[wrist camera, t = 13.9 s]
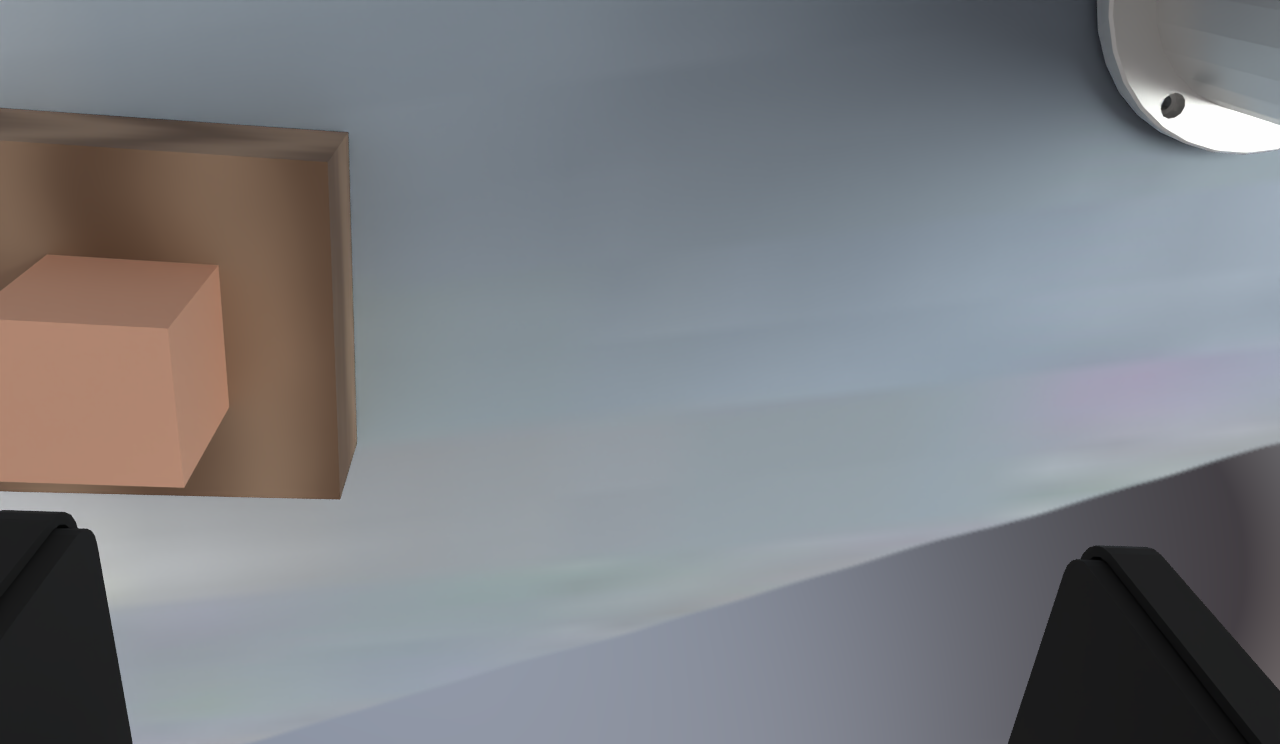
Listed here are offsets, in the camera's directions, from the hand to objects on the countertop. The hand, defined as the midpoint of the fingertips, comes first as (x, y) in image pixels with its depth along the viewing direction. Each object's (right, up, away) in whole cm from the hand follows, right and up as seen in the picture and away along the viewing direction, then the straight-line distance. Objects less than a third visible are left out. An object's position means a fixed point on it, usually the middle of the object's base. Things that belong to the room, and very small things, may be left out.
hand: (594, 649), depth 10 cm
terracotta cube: (-15, +4, +22) cm, 28 cm away
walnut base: (-16, +6, +26) cm, 31 cm away
